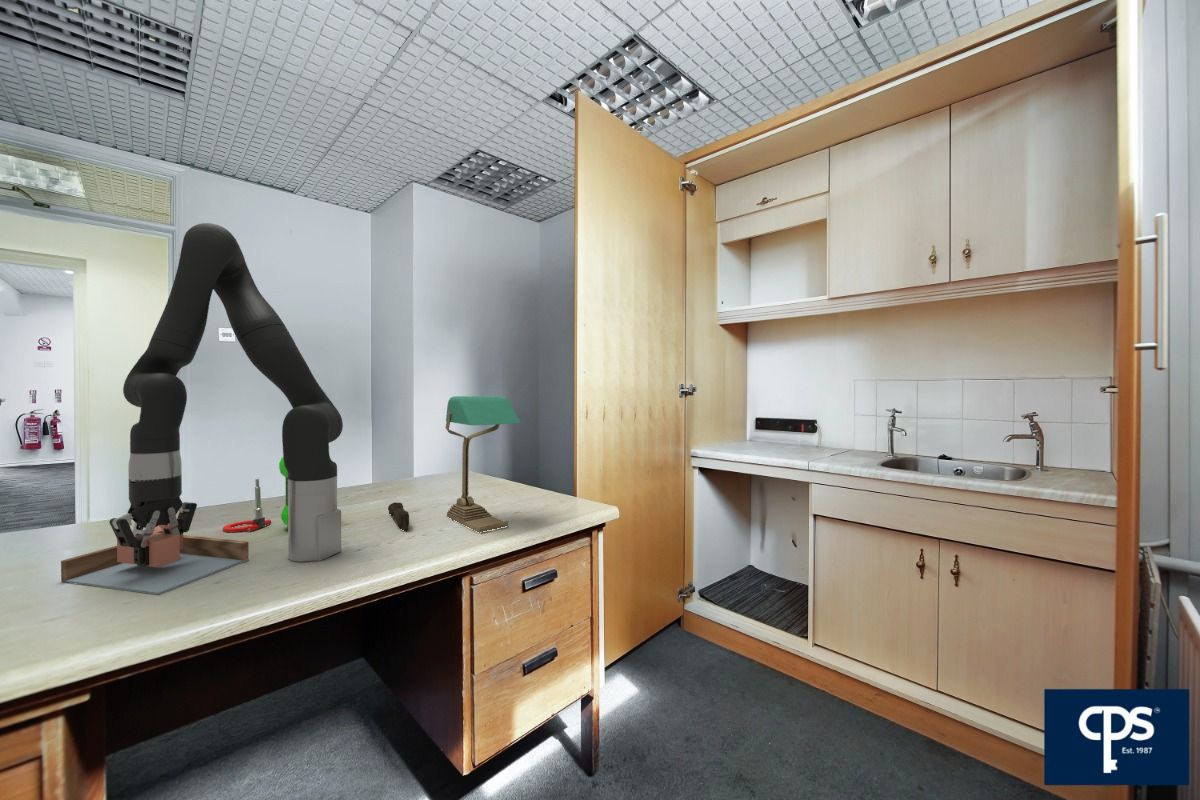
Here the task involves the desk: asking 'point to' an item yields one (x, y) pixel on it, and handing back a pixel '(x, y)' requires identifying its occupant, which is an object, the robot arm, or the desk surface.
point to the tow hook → (258, 516)
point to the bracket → (155, 549)
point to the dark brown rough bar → (399, 515)
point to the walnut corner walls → (190, 546)
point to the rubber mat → (156, 574)
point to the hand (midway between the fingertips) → (156, 560)
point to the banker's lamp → (468, 413)
